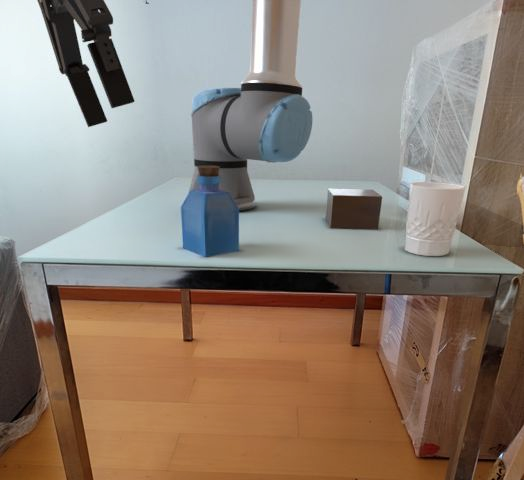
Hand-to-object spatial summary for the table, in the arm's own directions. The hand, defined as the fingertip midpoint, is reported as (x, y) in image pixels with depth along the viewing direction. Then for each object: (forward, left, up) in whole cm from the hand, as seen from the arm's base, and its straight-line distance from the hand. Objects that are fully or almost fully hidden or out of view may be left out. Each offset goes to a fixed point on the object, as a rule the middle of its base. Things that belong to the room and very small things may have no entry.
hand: (109, 115), depth 61 cm
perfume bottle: (-5, +12, -18) cm, 23 cm away
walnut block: (-27, +37, -18) cm, 50 cm away
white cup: (-7, +46, -18) cm, 50 cm away
